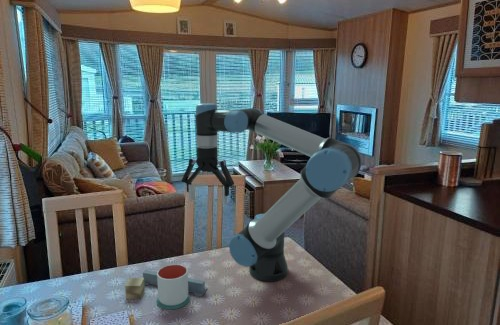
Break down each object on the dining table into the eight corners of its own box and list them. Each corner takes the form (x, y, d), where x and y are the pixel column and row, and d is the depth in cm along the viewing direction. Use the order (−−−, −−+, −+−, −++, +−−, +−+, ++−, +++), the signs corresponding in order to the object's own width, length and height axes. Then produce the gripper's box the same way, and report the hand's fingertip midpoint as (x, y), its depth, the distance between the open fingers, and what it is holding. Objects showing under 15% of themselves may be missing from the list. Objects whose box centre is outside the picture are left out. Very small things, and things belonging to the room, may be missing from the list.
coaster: (195, 293, 121) (195, 292, 121) (179, 312, 111) (179, 311, 110) (167, 288, 124) (167, 287, 124) (150, 305, 114) (150, 304, 114)
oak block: (144, 290, 123) (144, 278, 122) (140, 299, 118) (140, 285, 117) (130, 290, 122) (129, 278, 121) (126, 299, 117) (125, 285, 116)
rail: (207, 289, 124) (207, 278, 123) (201, 296, 119) (200, 286, 118) (148, 277, 131) (147, 268, 130) (140, 284, 126) (139, 274, 125)
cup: (181, 309, 111) (180, 281, 109) (153, 305, 113) (151, 277, 111) (192, 292, 121) (192, 266, 119) (166, 288, 123) (165, 263, 121)
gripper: (242, 146, 125) (242, 202, 129) (181, 143, 132) (183, 196, 137) (235, 150, 118) (235, 209, 122) (171, 146, 125) (173, 201, 130)
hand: (207, 202), depth 130 cm, fingers open, 13 cm apart
